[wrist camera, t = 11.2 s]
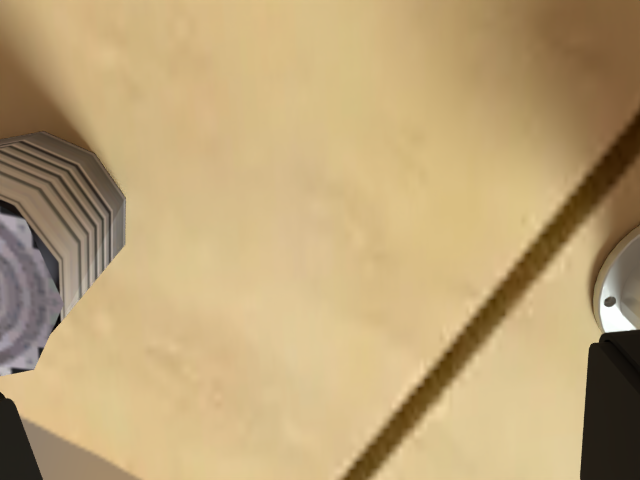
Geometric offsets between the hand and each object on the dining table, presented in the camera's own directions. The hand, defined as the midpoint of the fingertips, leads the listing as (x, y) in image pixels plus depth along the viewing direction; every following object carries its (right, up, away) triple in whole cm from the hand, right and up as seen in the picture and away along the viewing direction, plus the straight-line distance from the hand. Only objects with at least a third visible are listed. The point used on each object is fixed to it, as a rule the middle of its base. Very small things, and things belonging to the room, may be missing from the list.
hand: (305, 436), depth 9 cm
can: (-19, +5, +31) cm, 36 cm away
